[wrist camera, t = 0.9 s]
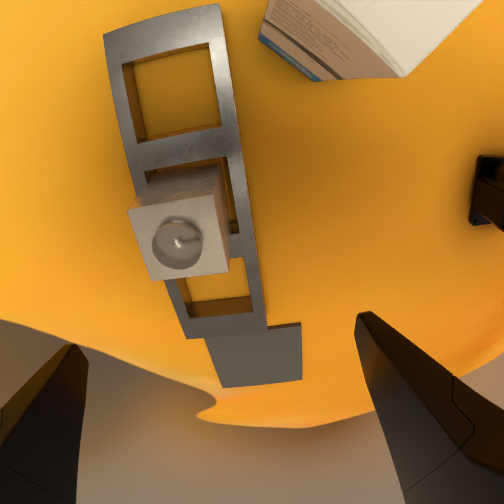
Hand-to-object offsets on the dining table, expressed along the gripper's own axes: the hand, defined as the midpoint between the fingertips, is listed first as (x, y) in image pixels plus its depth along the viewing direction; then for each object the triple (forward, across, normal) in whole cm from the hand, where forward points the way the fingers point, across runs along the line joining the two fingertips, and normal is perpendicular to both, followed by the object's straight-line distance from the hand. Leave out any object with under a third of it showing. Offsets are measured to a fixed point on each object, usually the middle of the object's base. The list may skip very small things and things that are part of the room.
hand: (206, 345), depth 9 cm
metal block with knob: (+14, +2, 0) cm, 14 cm away
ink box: (+14, -8, -11) cm, 19 cm away
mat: (+14, 0, +18) cm, 23 cm away
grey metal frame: (+14, +2, 0) cm, 14 cm away
